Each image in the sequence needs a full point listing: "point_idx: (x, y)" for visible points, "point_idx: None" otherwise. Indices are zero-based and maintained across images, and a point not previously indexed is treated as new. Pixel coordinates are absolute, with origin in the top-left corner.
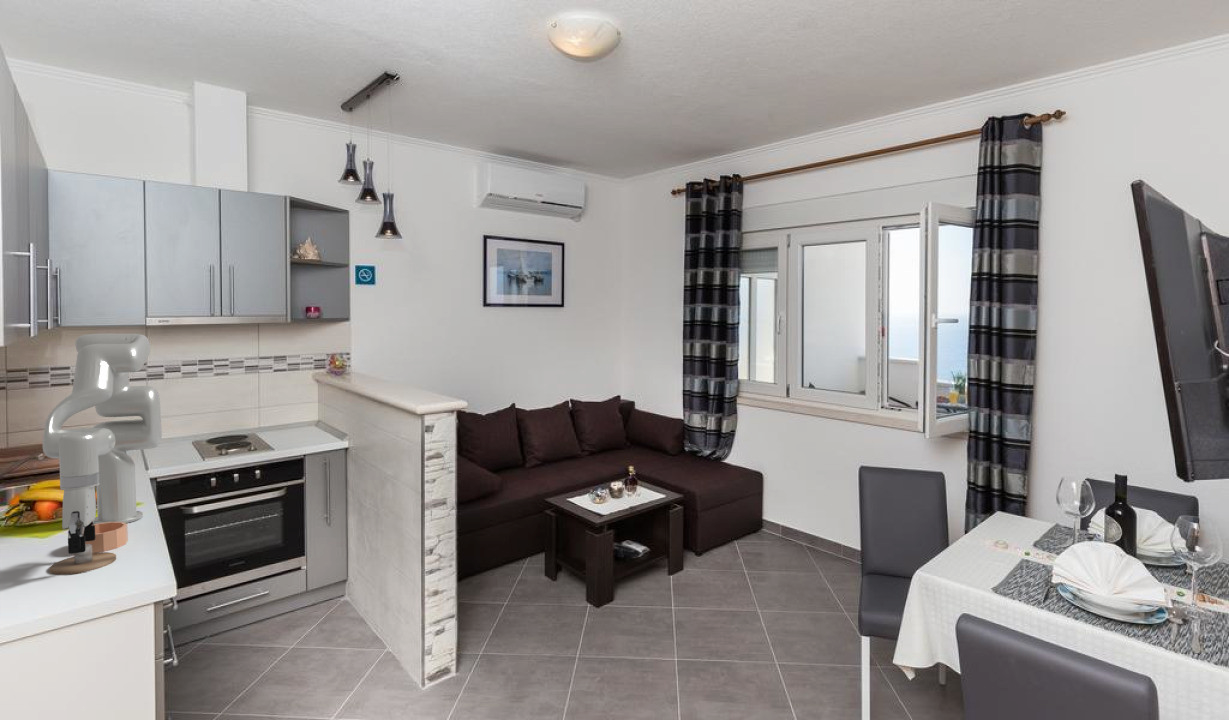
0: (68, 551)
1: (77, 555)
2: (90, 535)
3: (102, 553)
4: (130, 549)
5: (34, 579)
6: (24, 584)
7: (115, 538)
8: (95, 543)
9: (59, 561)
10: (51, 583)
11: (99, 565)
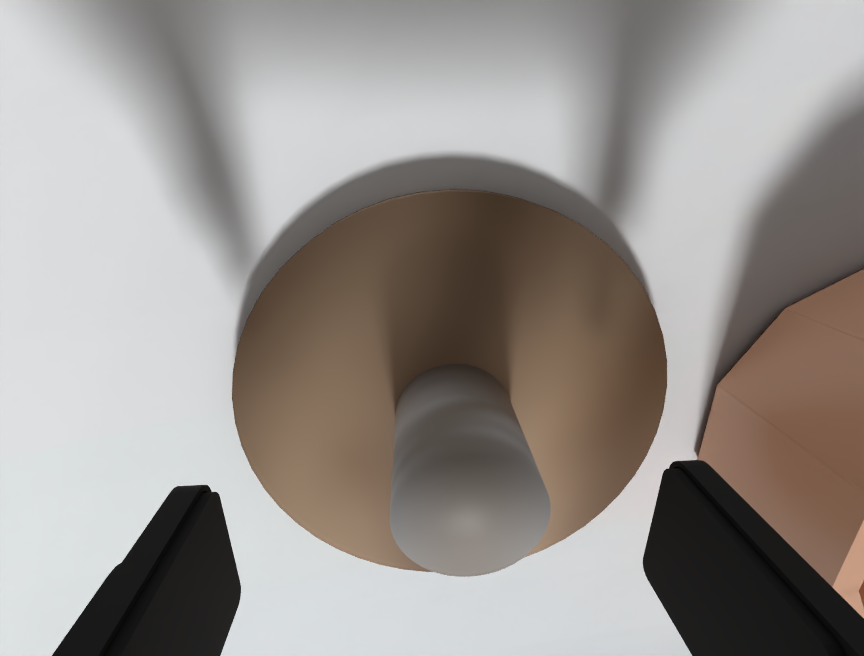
0: (167, 502)
1: (397, 443)
2: (684, 603)
3: (599, 485)
4: (641, 577)
5: (223, 125)
6: (102, 72)
7: None
8: (768, 468)
9: (579, 231)
10: (73, 294)
11: (304, 526)
